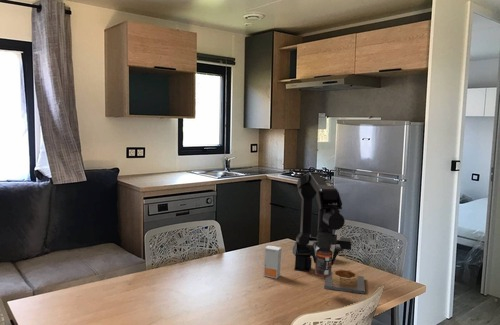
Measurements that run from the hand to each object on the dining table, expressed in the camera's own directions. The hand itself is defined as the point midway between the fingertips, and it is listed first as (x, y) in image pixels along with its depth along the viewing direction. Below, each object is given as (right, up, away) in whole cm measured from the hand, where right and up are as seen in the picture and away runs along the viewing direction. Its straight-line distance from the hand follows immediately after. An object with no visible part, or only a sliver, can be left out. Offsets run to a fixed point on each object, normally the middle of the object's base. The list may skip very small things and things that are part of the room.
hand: (323, 263), depth 147 cm
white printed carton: (+7, -8, +39) cm, 41 cm away
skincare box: (-18, -9, +17) cm, 26 cm away
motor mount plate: (+10, -11, +12) cm, 19 cm away
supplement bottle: (0, -4, 0) cm, 4 cm away
